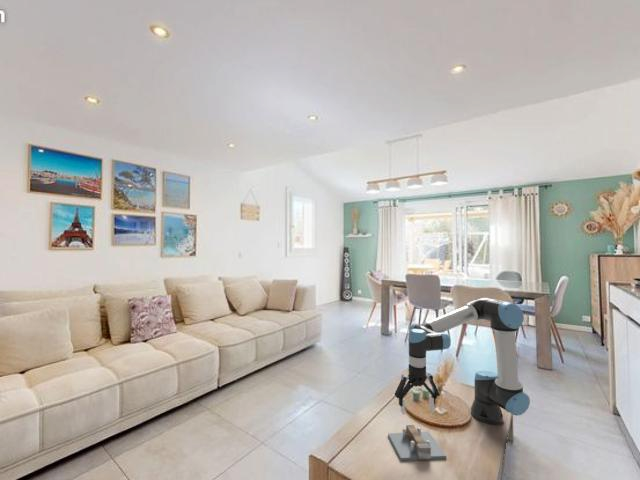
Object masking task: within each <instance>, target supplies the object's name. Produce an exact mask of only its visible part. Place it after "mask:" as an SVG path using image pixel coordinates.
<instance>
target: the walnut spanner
mask: <svg viewBox="0 0 640 480" xmlns="http://www.w3.org/2000/svg"><path fill="white" fill-rule="evenodd" d="M405 426H406V427H405V428H406V435H407V437H408V439H409V440H410V442H411V441H414V442H415V447H414V448H415V450H416V452H417V456H418V458H419V459H428V460H430V459H429V458H431V447H430V446H429V444H426V442H425V441H424V439H423V438H422V437H421V435H420V434H419V432H418V431H417V428H416V427H415V425H414V424H406V425H405Z"/></svg>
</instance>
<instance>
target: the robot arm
mask: <svg viewBox="0 0 640 480" xmlns="http://www.w3.org/2000/svg"><path fill="white" fill-rule="evenodd" d="M463 304H464V305H463V306H461V307H460V308H457V309H454V310H453V311H450V312H447V313H445V314H442V315H440V316H438V317H436V318H433V319H431V320H429V321H425V322H424V323H421V324H420V323H415V322H414V323H412V324H411V325H410V326H409V328H408V339H407V340H408V375H405V374H402V375H401V379H400V382H399V384H398V386H397V388H396V390H395V393H394V396H395V397H396V398H397V399H398V406H400V412H401V414H402V415H405V413H406V412H405V408H406V406H405V402H406V401H405V400H406V399H405V397H406V396H407V394H408V393H409V392H410V390H411V389H414V387H415V388H417V387H422V386H423V387H424V388H425V389H426V390H427V392H428V393H429V394H430V395H429V396H428V397H429V398H428V400H429V402H428V403H429V407H428V408H429V412H431V413H432V414H434V413H435V412H434V411H435V405H436V403H437V401H436V399H437V398H438V397H440V396H441V394H440V392H439V390H438V388H437V385H436V384H435V382H434V377H433V375H432V374H430V373H428V374H427V367H426V365H427V352H431V351H443V350H448V349H449V348H450V347H451V342H452V341H451V340H452V339H451V338H450V335H449V334H448V333H446V332H448V331H450V330H452V329H454V328H456V327H459V326H461V325H463V324H466V323H469V322H470V321H472V322H476V321H478V320H485V321H488V322H490V329H491V330H493V331H494V341H495V342H494V344H495V353H496V354H495V357H496V371H497V372H494V371H488V370H479V371H477V372H476V371H475V374H474V399H473V402H472V405H471V406H470V414H471V413H472V414H471V415H472V417H474V418H475V419H476V420H478V421H480V422H481V423H485V424H488V425H489V424H490V425H500V424H502V423H503V422H504V415H503V412H502V409H503V410H505V411H506V412H507V413H509V414H511V415H513V416H522V415H523V414H525V413H526V412H527V410H528V409H529V407H530V403H531V399H530V396H529V395H528V394H527V393H526V392H524V389H523V388H524V386H523V383H521V381H520V380H519V371H518V370H519V369H518V368H519V367H518V359H517V357H518V356H517V343H516V333H517V332H518V331H519V329H520V328H521V327H522V326H523V323H524V321H525V320H524V319H525V318H524V316H525V315H524V312H523V310H522V309H521V307H520V306H519V305H518V304H516V303H513V302H510V301H508V300H502V299H496V298H493V297H481V298H477V299H474V300H471V301H469V302H466V303H463ZM427 380H428V381H429V384H430V386H431V388H432V389H431V388H430V387H429V386H428V384H427V383H426V381H427Z"/></svg>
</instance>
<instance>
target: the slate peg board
mask: <svg viewBox="0 0 640 480" xmlns="http://www.w3.org/2000/svg"><path fill="white" fill-rule="evenodd" d="M416 429H417V431H418V432H419V434H420V435H421V437H422V438H423V439H424V441H425V442H426V444H429V446H430V447H431V458H429V459H419V458H418V456H417V452H416V450H415V448H414V447H415V442H414V441H411V442H410V440H409V439H408V437H407V435H406V427H402V432H392V433H391V432H390V433H387V437H388V439H389V441H390V442H391V445H392V447H393V448H394V450H395V452H396V454H397V456H398V458H399V461H401V462H403V461H404V462H406V461H407V462H409V461H423V460H441V459H442V460H443V459H444V460H446V459H447V454H446V453H445V452H444V451H443V449H442V448H441V447H440V445H439V443H438V442H437V441H436V440H435V438H434V437H433V435H432V434H431V433H430V432H429V431H422V429H421V427H420V426H419V427H417V428H416Z"/></svg>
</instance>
